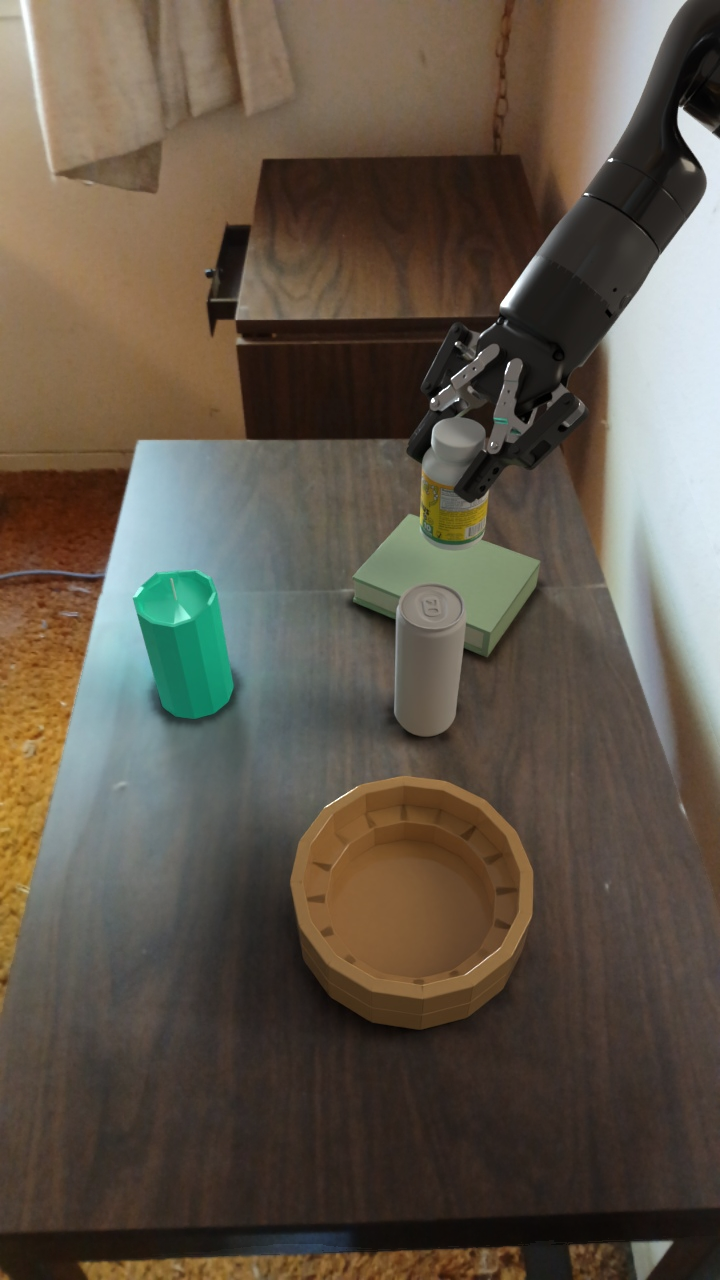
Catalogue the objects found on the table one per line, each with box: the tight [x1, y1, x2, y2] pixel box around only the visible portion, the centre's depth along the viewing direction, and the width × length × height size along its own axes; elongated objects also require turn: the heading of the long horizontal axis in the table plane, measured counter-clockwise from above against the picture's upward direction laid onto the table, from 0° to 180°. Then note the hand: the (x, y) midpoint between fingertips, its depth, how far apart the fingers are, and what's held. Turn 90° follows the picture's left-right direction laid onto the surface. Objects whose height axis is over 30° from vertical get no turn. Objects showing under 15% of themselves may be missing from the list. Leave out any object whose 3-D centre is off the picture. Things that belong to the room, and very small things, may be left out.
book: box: [352, 513, 541, 658], centre depth 77 cm, size 13×10×3 cm
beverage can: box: [393, 583, 466, 738], centre depth 65 cm, size 5×5×12 cm
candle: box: [132, 569, 235, 720], centre depth 67 cm, size 6×6×12 cm
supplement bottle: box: [419, 417, 490, 551], centre depth 70 cm, size 5×5×10 cm
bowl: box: [289, 775, 534, 1031], centre depth 56 cm, size 15×15×5 cm
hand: (438, 477), depth 68 cm, fingers closed on supplement bottle, 5 cm apart
